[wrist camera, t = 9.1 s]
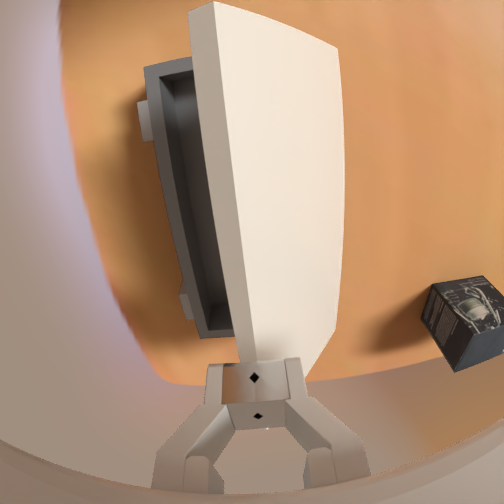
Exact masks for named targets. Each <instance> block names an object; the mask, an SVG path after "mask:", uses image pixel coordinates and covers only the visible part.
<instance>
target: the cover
mask: <svg viewBox="0 0 504 504" xmlns="http://www.w3.org/2000/svg"><path fill="white" fill-rule="evenodd" d="M188 23H189V33H190V43H191V53H192V62H193V71H194V80H195V88H196V96H197V104H198V112H199V120H200V128H201V135H202V142H203V149H204V157H205V164H206V170H207V177H208V184H209V190H210V197H211V203H212V210H213V216H214V222H215V228H216V234H217V240H218V246H219V252H220V258H221V264H222V269H223V275H224V281H225V286H226V292H227V297H228V303H229V308H230V313H231V319H232V324H233V329H234V334H235V339H236V344H237V349H238V354H239V359H240V363H249V362H256V361H265V360H274V359H283V358H284V359H285V358H294V357H300V359H301V363H302V368H303V373H304V378H305V377H306V375H307V374H308V372H309V371H310V369H311V368H312V366H313V365H314V363H315V362H316V360H317V358H318V357H319V355H320V354H321V352H322V351H323V349H324V347H325V346H326V344H327V342H328V341H329V339H330V338H331V336H332V334H333V333H334V331H335V328H336V319H337V310H338V300H339V290H340V278H341V265H342V249H343V228H344V190H345V163H344V126H343V106H342V91H341V79H340V68H339V58H338V49H337V48H336V47H334V46H332V45H330V44H328V43H326V42H324V41H322V40H320V39H317V38H315V37H313V36H311V35H309V34H307V33H304V32H302V31H300V30H298V29H295V28H293V27H290V26H288V25H286V24H283V23H281V22H278V21H275V20H273V19H270V18H267V17H265V16H262V15H259V14H256V13H253V12H250V11H247V10H244V9H240V8H237V7H234V6H230V5H226V4H223V3H219V2H215V1H212V2H210V3H207V4H205V5H203V6H200V7H198V8H196V9H193V10H191V11H189V12H188ZM264 429H266V430H268V429H269V428H264Z"/></svg>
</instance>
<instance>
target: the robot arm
mask: <svg viewBox="0 0 504 504" xmlns="http://www.w3.org/2000/svg"><path fill="white" fill-rule="evenodd" d="M285 426H286V428H287V430H288V431H289V432H290V433H291V434H292V435H293V437H294V438H295V439H296V440H297V441H298V442H299V444H300V445H301V446H302V447H303V448H304V449H305V450H306V451H307V453H308V454H307V458H306V464H305V468H304V473H303V480H304V489H302V490H295V491H287V492H275V493H263V494H224V480H223V479H222V478H221V476H220V475H219V474H218V472H217V471H216V469H215V468H214V466H213V464H214V463H215V461H216V460H217V459H218V457H219V456H220V454H221V453H222V451H223V450H224V448H225V447H226V445H227V444H228V442H229V441H230V439H231V438H232V436H233V435H234V433H235V430H246V429H258V428H271V427H272V428H273V427H285ZM0 504H504V417H503V418H501V419H500V420H498V421H497V422H495V423H493V424H491V425H490V426H488V427H486V428H485V429H483V430H481V431H479V432H478V433H476V434H474V435H472V436H470V437H468V438H466V439H464V440H462V441H460V442H458V443H456V444H454V445H452V446H450V447H448V448H445V449H443V450H441V451H439V452H436V453H434V454H432V455H430V456H427V457H424V458H422V459H419V460H417V461H414V462H411V463H409V464H406V465H403V466H400V467H397V468H394V469H391V470H388V471H385V472H381V473H378V474H375V475H371V473H370V469H369V465H368V461H367V457H366V454H365V450H364V447H363V442H362V439H361V438H360V437H359V436H358V435H356V434H355V433H354V432H353V431H352V430H351V429H349V428H348V427H347V426H346V425H345V424H343V423H342V422H341V421H340V420H339V419H338V418H337V417H335V416H334V415H333V414H332V413H331V412H330V411H329V410H327V409H326V408H325V407H324V406H323V405H322V404H321V403H320V402H318V401H317V400H316V399H315V398H314V397H313V396H311V397H308V394H307V389H306V383H305V378H304V373H303V368H302V363H301V359H300V357H294V358H285V359H284V358H283V359H274V360H265V361H256V362H249V363H225V364H209V365H208V368H207V376H206V386H205V397H204V405H199V406H198V407H197V408H196V409H195V410H194V412H193V413H192V414H191V415H190V416H189V417H188V418H187V420H186V421H185V422H184V423H183V424H182V425H181V426H180V427H179V429H177V431H176V432H175V433H174V434H173V435H172V436H171V437H170V438H169V439H168V440H167V441H166V442H165V444H164V445H163V446H162V447H161V448H160V449H159V450H158V451H157V453H156V459H155V466H154V472H153V478H152V486H151V488H145V487H139V486H133V485H129V484H124V483H119V482H115V481H110V480H106V479H102V478H98V477H95V476H91V475H87V474H84V473H81V472H77V471H75V470H71V469H68V468H65V467H63V466H60V465H57V464H54V463H51V462H49V461H46V460H44V459H41V458H39V457H36V456H34V455H32V454H29V453H27V452H25V451H23V450H20V449H18V448H16V447H14V446H12V445H10V444H8V443H6V442H4V441H2V440H0Z"/></svg>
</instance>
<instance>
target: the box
mask: <svg viewBox="0 0 504 504" xmlns="http://www.w3.org/2000/svg"><path fill="white" fill-rule="evenodd" d="M421 321H422V322H423V324H424V326H425V327H426V329H427V330H428V332H429V333H430V335H431V336H432V338H433V339H434V341H435V342H436V344H437V346H438V347H439V349H440V350H441V352H442V353H443V355H444V357H445V359H446V360H447V362H448V363H449V365H450V367H451V368H452V370H453V372H457V371H460V370H463V369H466V368H468V367H471V366H474V365H476V364H479V363H481V362H484V361H486V360H488V359H491V358H493V357H495V356H498V355H500V354H502V353H504V296H503V295H502V294H501V293H500V292H499V291H498V290H497V289H496V288H495V287H494V286H493V285H492V284H491V283H490V282H489V281H488V280H487V279H486V278H485V277H484V276H478V277H473V278H467V279H460V280H454V281H448V282H441V283H435V284H432V287H431V290H430V293H429V296H428V299H427V302H426V305H425V308H424V311H423V314H422V317H421Z"/></svg>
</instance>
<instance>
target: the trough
mask: <svg viewBox="0 0 504 504" xmlns="http://www.w3.org/2000/svg"><path fill="white" fill-rule="evenodd" d="M144 76H145V85H146V93H147V100H145V101H141V102H137V107H138V114H139V121H140V127H141V134H142V140H143V142H148V141H152V140H153V141H154V147H155V153H156V158H157V164H158V169H159V175H160V180H161V185H162V190H163V195H164V200H165V204H166V209H167V214H168V218H169V223H170V227H171V232H172V236H173V240H174V244H175V249H176V253H177V257H178V261H179V265H180V269H181V273H182V276H183V280H184V282H182V284H181V287H180V291H179V294H178V295H179V298H180V302H181V305H182V308H183V312H184V315H185V318H186V320H195V323H196V327H197V330H198V333H199V337H200V339H203V338H220V337H235V334H234V329H233V324H232V319H231V313H230V308H229V303H228V297H227V292H226V286H225V281H224V275H223V269H222V264H221V258H220V252H219V246H218V240H217V234H216V228H215V222H214V216H213V210H212V203H211V197H210V190H209V184H208V177H207V170H206V164H205V157H204V149H203V142H202V135H201V128H200V120H199V112H198V104H197V96H196V88H195V80H194V71H193V62H192V57H186V58H181V59H176V60H171V61H167V62H162V63H158V64H154V65H150V66H146V67H144Z"/></svg>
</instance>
